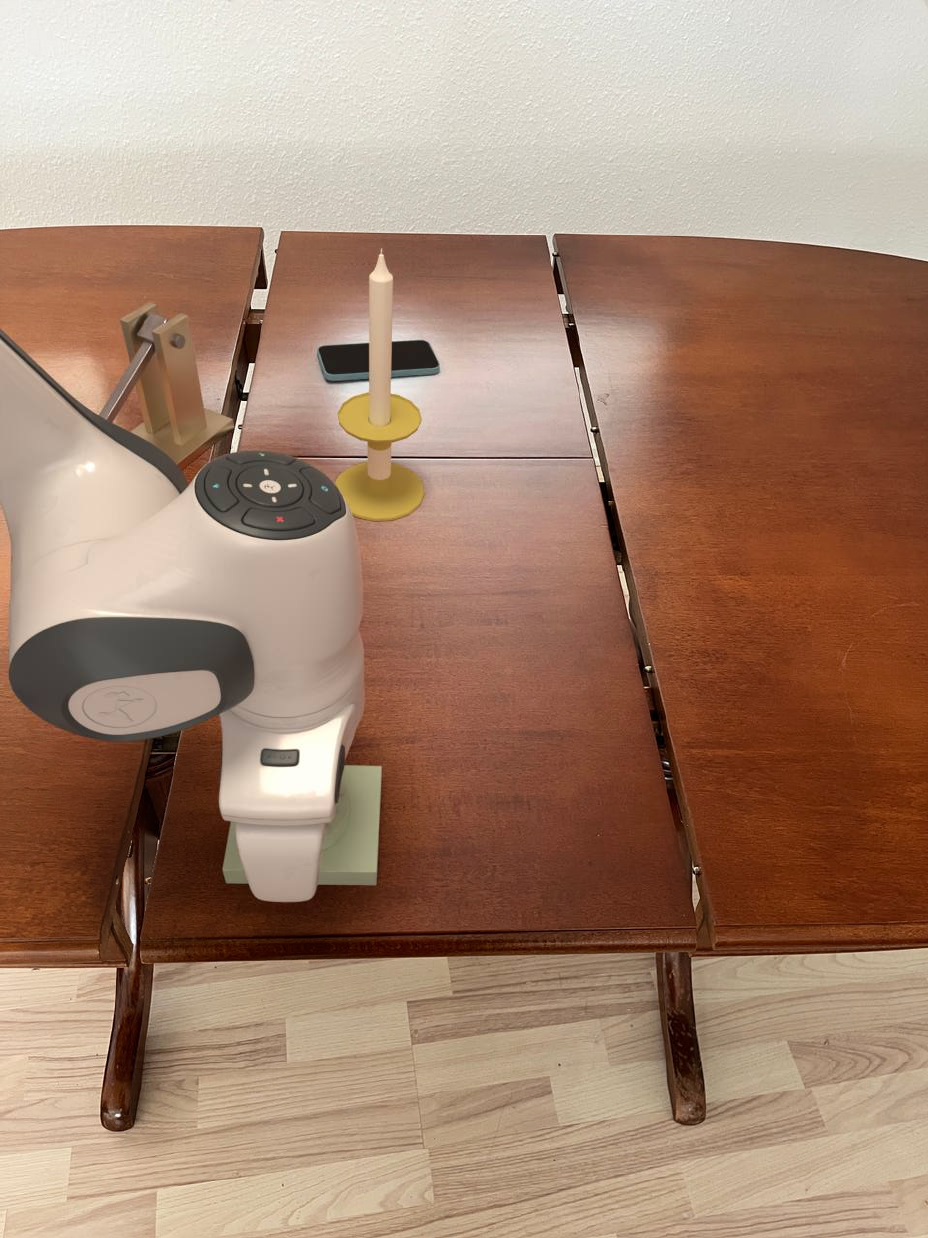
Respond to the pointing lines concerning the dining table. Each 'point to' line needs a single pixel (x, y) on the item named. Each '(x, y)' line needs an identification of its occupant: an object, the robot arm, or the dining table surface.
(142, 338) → the lever
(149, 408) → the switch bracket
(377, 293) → the candle
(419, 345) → the smartphone
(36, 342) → the dining table surface
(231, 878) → the control box
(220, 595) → the robot arm
